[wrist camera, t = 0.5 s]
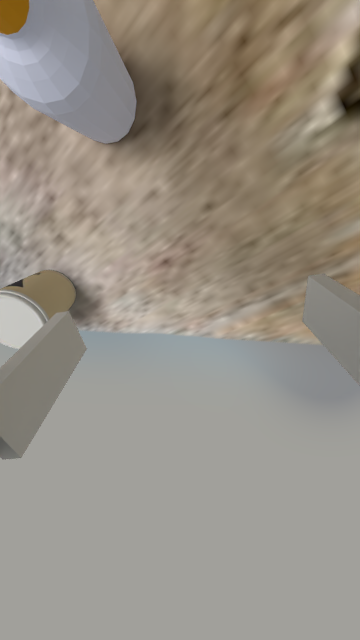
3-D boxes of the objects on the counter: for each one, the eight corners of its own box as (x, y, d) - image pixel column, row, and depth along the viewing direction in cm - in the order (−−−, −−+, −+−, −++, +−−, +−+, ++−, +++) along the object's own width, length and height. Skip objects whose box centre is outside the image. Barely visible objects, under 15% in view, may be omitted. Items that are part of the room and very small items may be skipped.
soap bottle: (144, 146, 30) (61, 58, 10) (74, 142, 30) (-158, 46, 10) (142, 52, 26) (-20, -465, 5) (60, 48, 26) (-420, -495, 5)
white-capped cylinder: (43, 253, 38) (-10, 278, 28) (90, 290, 41) (59, 324, 31) (19, 289, 41) (-36, 324, 31) (64, 320, 45) (28, 361, 34)
